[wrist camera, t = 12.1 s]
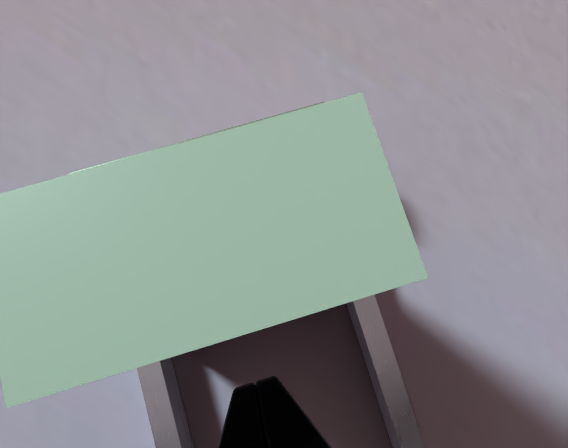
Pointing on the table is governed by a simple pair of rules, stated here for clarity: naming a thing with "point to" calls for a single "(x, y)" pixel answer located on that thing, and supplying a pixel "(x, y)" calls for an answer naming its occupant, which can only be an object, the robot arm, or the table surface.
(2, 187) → the table surface
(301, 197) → the plunger
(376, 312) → the plunger track
